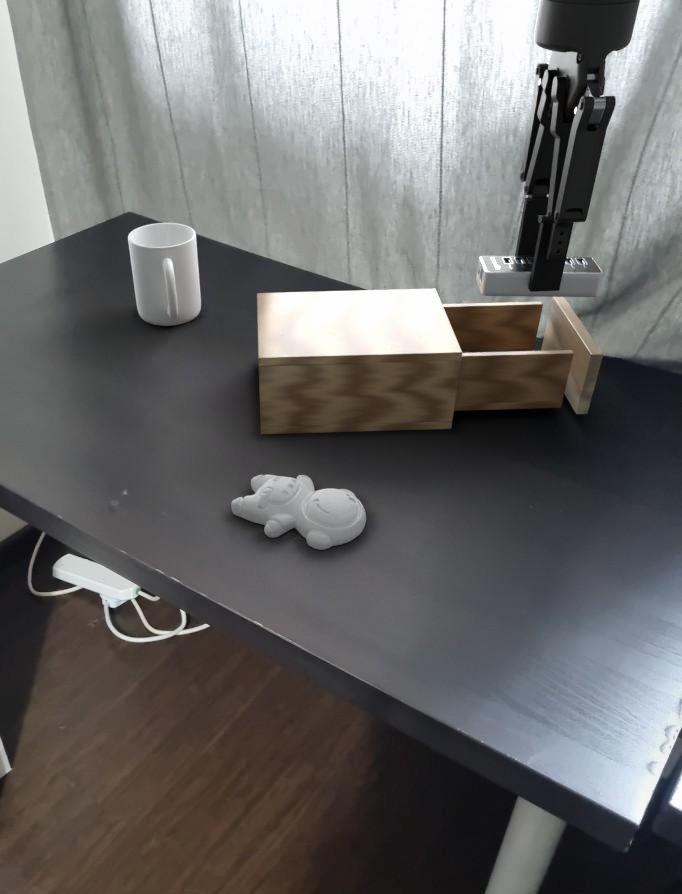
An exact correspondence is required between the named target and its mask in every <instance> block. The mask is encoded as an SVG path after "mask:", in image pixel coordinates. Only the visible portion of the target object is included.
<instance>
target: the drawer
mask: <svg viewBox="0 0 682 894" xmlns="http://www.w3.org/2000/svg"><path fill="white" fill-rule="evenodd" d="M442 305H443V307H444V310H445V312H446V315H447V317H448V319H449V322H450V324H451V327H452V329H453V331H454V334H455V336H456V339H457V341H458V343H459V346H460V348H461V351H462V358H461V365H460V372H459V379H458V385H457V392H456V399H455V406H454V412H456V411H457V412H459V411H492V410H496V411H499V410H528V409H529V410H530V409H532V410H533V409H560V408H561V409H562V405H563V400H564V396H565V398H566V399H567V401H568V403H569V404H570V406H571V408H572V409H573V412H575V415H588V413H589V409H590V405H591V402H592V398H593V395H594V391H595V387H596V383H597V379H598V375H599V371H600V369H601V364H602V361H603V357H604V353H603V352H602V350H601V349H600V347H599V345H598V344H597V343H596V341H595V340H594V338H593V337H592V336H591V334H590V333H589V331H588V330H587V328H586V327H585V325H584V324H583V322H582V321H581V320H580V318H579V316H578V314H577V313H576V312H575V310H574V309H573V308H572V306H571V305H570V303H569V301H568V300H567V299H566V297H551V302H550V306H549V307H550V308H549V312H548V316H547V321H546V324H545V330H544V335H543V339H542V343H541V344H542V345H541V348H540V350H535V346H536V341H537V336H538V331H539V326H540V322H541V317H542V313H543V308H544V303H543V302H542V301H508V302H472V303H471V302H469V303H467V302H466V303H442Z"/></svg>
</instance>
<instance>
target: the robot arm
mask: <svg viewBox="0 0 682 894" xmlns="http://www.w3.org/2000/svg"><path fill="white" fill-rule="evenodd" d="M640 2H641V0H538V7H537V14H536V20H535V27H534V32H533V40H534V43H535V44H536V46H538V47H539V48H541V49H544V50H548V51H550V52H551V51H552V52H551V54H550V57H549V59H548V62H537V64H536V66H535V69H534V85H533V94H532V95H533V96H532V101H531V107H530V114H529V120H528V126H527V132H526V137H525V144H524V149H523V155H522V161H521V168H520V172H519V181H520V183H524V185H523V193H524V195H525V196H527V197H524V201H523V207H522V212H521V219H520V226H519V230H518V234H517V242H516V246H515V253H514V256H534V260H533V265H532V271H531V276H530V281H529V287H528V289H529V290H530V292H537V291H559V289H560V284H561V280H562V275H563V270H564V266H565V261H566V256H568V252H569V245H570V242H571V237H572V232H573V228H574V223H585V222H586V221H587V218H588V216H589V215H588V214H589V210H590V205H591V202H592V196H593V192H594V187H595V184H596V179H597V175H598V170H599V165H600V161H601V156H602V152H603V147H604V144H605V139H606V135H607V129H608V127H609V124H610V122H611V120H612V119H611V118H612V116H613V113H614V112H615V108H616V104H617V103H616V102H617V99H616V96H615V95H604V94H605V88H606V87H605V86H606V75H605V74H606V65H607V63H606V59H607V57H608V56H609V55H610V54H611V53H613V52H619V51H622V50H624V49H625V48H627V47H628V46H629V44H630V43H631V41H632V38H633V34H634V28H635V24H636V21H637V20H636V19H637V15H638V13H639V12H638V11H639V6H640Z"/></svg>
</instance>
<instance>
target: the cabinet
mask: <svg viewBox="0 0 682 894" xmlns="http://www.w3.org/2000/svg"><path fill="white" fill-rule="evenodd" d="M442 304H443V302H442V300H441V298H440V296H439V293H438V291H437V288H434V287H433V288H399V289H365V290H363V289H361V290H360V289H358V290H325V291H322V290H321V291H287V292H257V293H256V308H257V309H256V313H257V314H256V315H257V317H256V318H257V357H258V384H259V385H258V387H259V413H260V414H259V415H260V416H259V417H260V435H279V434H281V435H283V434H285V435H286V434H315V433H317V434H318V433H319V434H321V433H355V432H389V431H422V430H451V429H452V426H453V419H454V413H455V411H454V406H455V399H456V392H457V385H458V379H459V372H460V365H461V358H462V351H461V348H460V346H459V343H458V341H457V339H456V336H455V334H454V331H453V329H452V327H451V324H450V322H449V319H448V317H447V315H446V312H445V310H444V307H443V305H442Z"/></svg>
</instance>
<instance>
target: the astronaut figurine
mask: <svg viewBox="0 0 682 894" xmlns="http://www.w3.org/2000/svg"><path fill="white" fill-rule="evenodd" d="M314 485H315V484H314V483H313V480H312V478H311V477H309V476H308V475H306V474H299V475H297V476H296V478H295V477H291V476H284V475H276V474H270V473H269V474H267V473H266V474H258V475H256V476H253V477H252V478H251V479H250V487H251V490H252V491H253V492H254V494H251V495H245V496H244V497H242V496H240V497H237V498H235V499H233V500H232V501H231V503H230V507H231V512H232V514H233V515H235V516H236V517H239V518H242V519H244V520H246V521H250V522H252V523H255V524H259V525H263V526H264V529H263V532H264V535H266V537H268V538H271V539H274V538H278V537H280V536H282V535H284V534H285V533H287V532H289V531H290V530H293V529H295V530H296V531H297V532H298V533H299V534H300V535H301V536H302V537H303V538H304V539H305V541H306V544H307V545H308V546H309V547H311V548H313V549H315V550H320V551H323V550H324V551H325V550H328V549H330V548H331V547H335V546H340V545H344V544H347V543H350V542H351V541H353V540H354V539H356V538H357V537H358V536H360V535H361V534H362V532H363V531H364V529H365V527H366V524H367V523H366V522H367V515H366V514H367V513H366V509H365V507H364V505H363V503H362V502H361V501H360V499H359V498H357V495H356V494H355V493H354V492H353V491H351V490H349V489H347V488H339V489H338V488H330V487H329V488H321V489H318V490H315V486H314Z"/></svg>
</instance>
